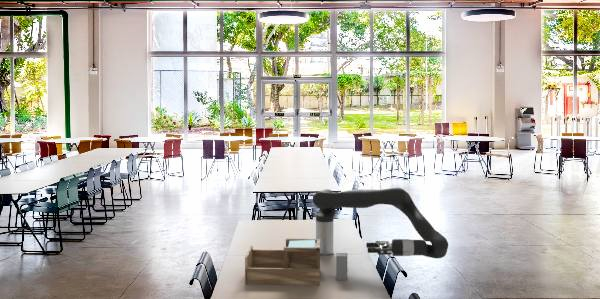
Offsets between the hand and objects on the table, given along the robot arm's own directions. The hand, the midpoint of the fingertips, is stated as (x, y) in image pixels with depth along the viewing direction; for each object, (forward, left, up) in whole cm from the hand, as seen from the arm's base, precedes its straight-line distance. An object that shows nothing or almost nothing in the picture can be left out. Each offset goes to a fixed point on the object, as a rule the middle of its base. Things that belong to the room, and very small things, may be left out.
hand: (367, 247), depth 274 cm
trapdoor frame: (0, -38, -14) cm, 41 cm away
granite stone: (0, -11, -14) cm, 18 cm away
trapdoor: (0, -30, 0) cm, 30 cm away
